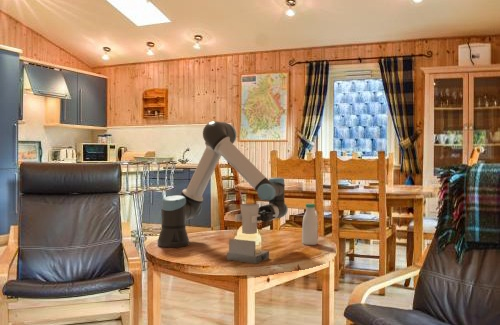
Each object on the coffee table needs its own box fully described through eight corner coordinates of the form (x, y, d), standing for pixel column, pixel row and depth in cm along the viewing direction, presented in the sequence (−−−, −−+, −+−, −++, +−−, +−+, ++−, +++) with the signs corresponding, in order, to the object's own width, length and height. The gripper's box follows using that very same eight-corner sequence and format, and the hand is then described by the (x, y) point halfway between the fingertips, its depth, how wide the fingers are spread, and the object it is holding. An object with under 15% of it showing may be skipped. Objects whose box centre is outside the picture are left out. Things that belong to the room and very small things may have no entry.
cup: (262, 232, 207) (262, 204, 206) (249, 235, 201) (249, 206, 201) (249, 230, 212) (249, 203, 212) (236, 232, 207) (236, 204, 206)
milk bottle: (317, 245, 236) (317, 204, 236) (301, 244, 238) (301, 204, 237) (318, 242, 244) (318, 203, 243) (302, 242, 245) (303, 202, 245)
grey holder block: (226, 259, 204) (226, 238, 204) (240, 254, 215) (240, 234, 214) (257, 264, 197) (257, 242, 197) (269, 258, 208) (269, 237, 208)
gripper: (287, 222, 218) (265, 229, 198) (248, 219, 227) (223, 226, 207) (288, 205, 218) (265, 211, 197) (248, 203, 227) (223, 208, 207)
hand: (244, 218), depth 202 cm, fingers closed on cup, 7 cm apart
